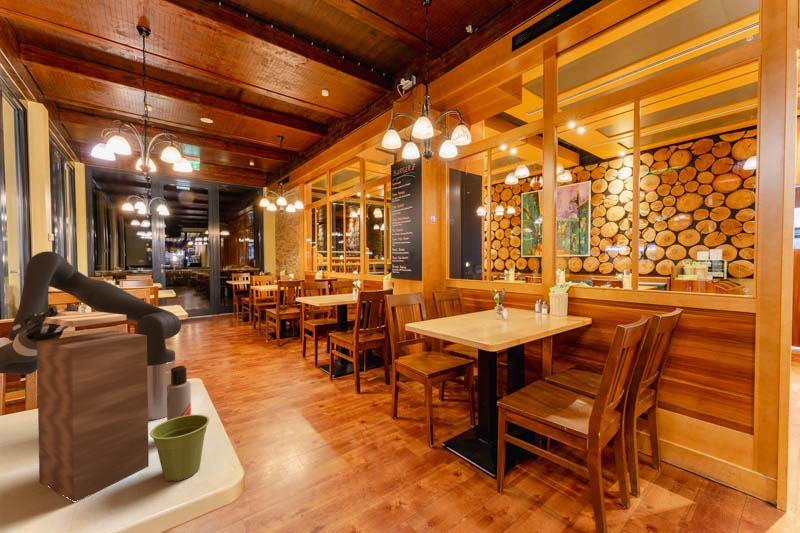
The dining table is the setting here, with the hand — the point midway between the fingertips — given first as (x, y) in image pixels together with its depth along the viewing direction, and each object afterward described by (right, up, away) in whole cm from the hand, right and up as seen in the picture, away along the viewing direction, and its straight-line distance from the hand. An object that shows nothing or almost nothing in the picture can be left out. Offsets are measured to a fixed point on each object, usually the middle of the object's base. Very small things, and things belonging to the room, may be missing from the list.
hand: (64, 308), depth 86 cm
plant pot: (+33, -38, -5) cm, 51 cm away
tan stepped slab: (+6, -2, -3) cm, 7 cm away
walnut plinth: (+13, -38, -6) cm, 41 cm away
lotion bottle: (+22, -38, +11) cm, 45 cm away
